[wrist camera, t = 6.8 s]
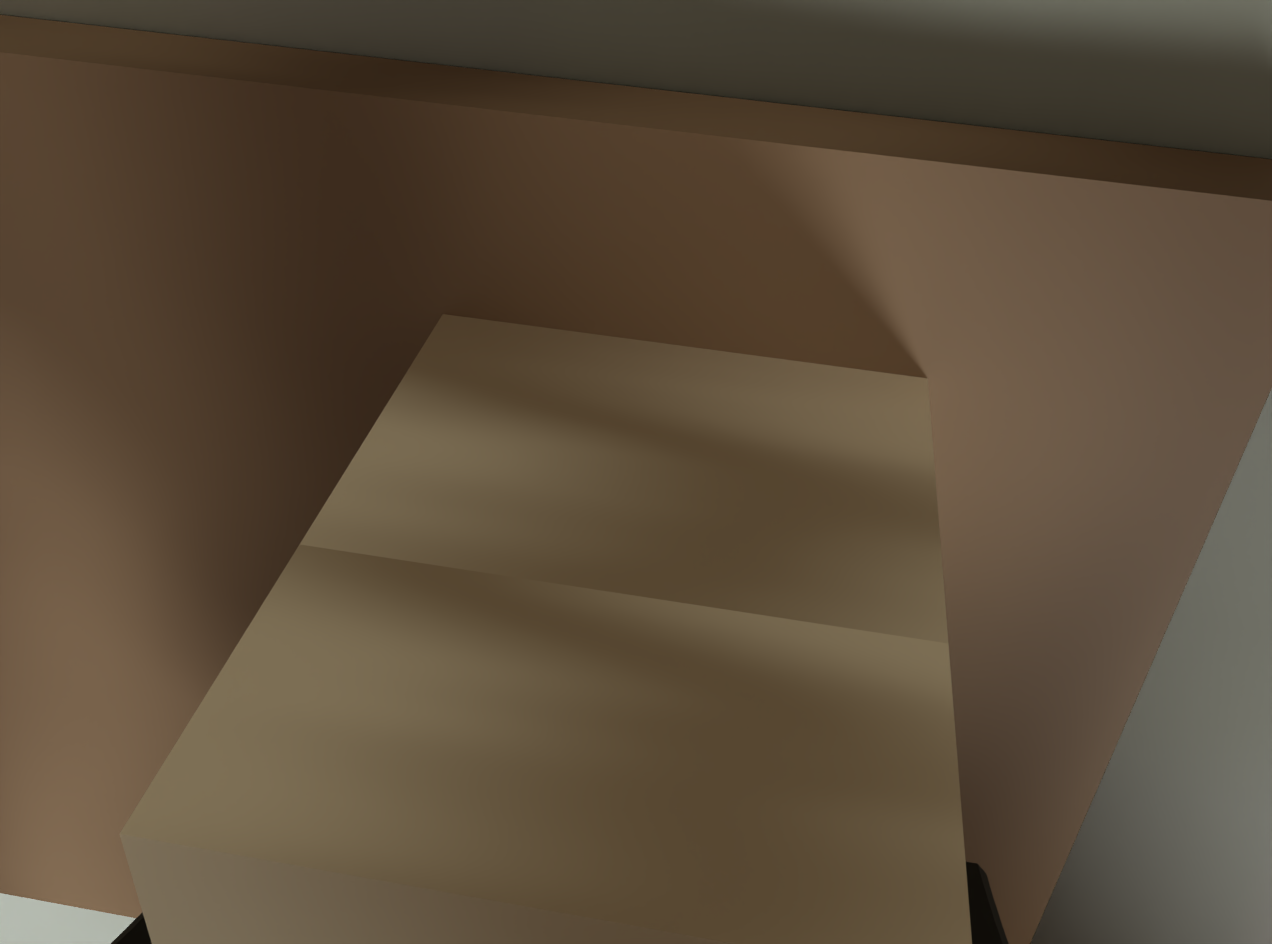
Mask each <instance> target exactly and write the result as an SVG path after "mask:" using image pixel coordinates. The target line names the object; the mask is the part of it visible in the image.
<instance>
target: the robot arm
mask: <svg viewBox="0 0 1272 944" xmlns="http://www.w3.org/2000/svg"><path fill="white" fill-rule="evenodd" d="M966 873H967V886H968V898H969V911H970V924H971V937H972V944H1009V943H1008V940H1007V938H1006V935H1005V932H1004V929H1003V926H1002V923H1001V920H1000V917H999V913H998V910H997V907H996V904H995V901H994V898H993V895H992V891H991V888H990V884H989V881H988V877H987V874H986V873H985V872H984V870H983V869H982V868H981V867H980V866H979V865H978V864H977V863H971V862H966ZM111 944H152V942H151V939H150V936H149V932H148V929H147V925H146V922H145V919H144V915H143V912H142V913H141V914H140V915H139V916H138V917H137V918H136V919H135V920H134V921H133V922H132V923H131V924H130V925H129V926H128V927H127V928H126V929H125V930H124V931H123V932H122V933H121V934H120V935H119V936H118V937H117V938H116V939H115V940H114V941H113V942H112V943H111Z"/></svg>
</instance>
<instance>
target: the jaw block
mask: <svg viewBox="0 0 1272 944" xmlns="http://www.w3.org/2000/svg"><path fill="white" fill-rule="evenodd" d="M120 838H121V841H122V844H123V848H124V851H125V855H126V858H127V861H128V865H129V868H130V871H131V875H132V878H133V882H134V885H135V888H136V892H137V895H138V898H139V902H140V905H141V909H142V912H143V915H144V919H145V922H146V925H147V929H148V932H149V936H150V939H151V942H152V944H972V937H971V924H970V911H969V898H968V886H967V873H966V860H965V848H964V835H963V822H962V809H961V797H960V784H959V771H958V759H957V746H956V733H955V720H954V708H953V695H952V682H951V670H950V657H949V644H948V632H947V619H946V606H945V593H944V581H943V568H942V555H941V543H940V530H939V517H938V504H937V492H936V479H935V466H934V454H933V441H932V428H931V415H930V403H929V390H928V378H921V377H913V376H906V375H898V374H890V373H883V372H875V371H868V370H860V369H853V368H845V367H838V366H830V365H823V364H815V363H808V362H800V361H793V360H785V359H777V358H770V357H762V356H755V355H747V354H740V353H732V352H725V351H717V350H710V349H702V348H695V347H687V346H680V345H672V344H665V343H657V342H649V341H642V340H634V339H627V338H619V337H612V336H604V335H597V334H589V333H582V332H574V331H567V330H559V329H552V328H544V327H537V326H529V325H521V324H514V323H506V322H499V321H491V320H484V319H476V318H469V317H461V316H454V315H446V314H443V315H442V316H441V318H440V320H439V321H438V323H437V324H436V326H435V328H434V329H433V331H432V332H431V334H430V336H429V337H428V339H427V340H426V342H425V344H424V345H423V347H422V348H421V350H420V352H419V353H418V355H417V357H416V358H415V360H414V361H413V363H412V365H411V366H410V368H409V369H408V371H407V373H406V374H405V376H404V377H403V379H402V381H401V382H400V384H399V385H398V387H397V389H396V390H395V392H394V393H393V395H392V397H391V398H390V400H389V402H388V403H387V405H386V406H385V408H384V410H383V411H382V413H381V414H380V416H379V418H378V419H377V421H376V422H375V424H374V426H373V427H372V429H371V430H370V432H369V434H368V435H367V437H366V438H365V440H364V442H363V443H362V445H361V447H360V448H359V450H358V451H357V453H356V455H355V456H354V458H353V459H352V461H351V463H350V464H349V466H348V467H347V469H346V471H345V472H344V474H343V475H342V477H341V479H340V480H339V482H338V483H337V485H336V487H335V488H334V490H333V492H332V493H331V495H330V496H329V498H328V500H327V501H326V503H325V504H324V506H323V508H322V509H321V511H320V512H319V514H318V516H317V517H316V519H315V520H314V522H313V524H312V525H311V527H310V528H309V530H308V532H307V533H306V535H305V537H304V538H303V540H302V541H301V543H300V545H299V546H298V548H297V549H296V551H295V553H294V554H293V556H292V557H291V559H290V561H289V562H288V564H287V565H286V567H285V569H284V570H283V572H282V573H281V575H280V577H279V578H278V580H277V582H276V583H275V585H274V586H273V588H272V590H271V591H270V593H269V594H268V596H267V598H266V599H265V601H264V602H263V604H262V606H261V607H260V609H259V610H258V612H257V614H256V615H255V617H254V618H253V620H252V622H251V623H250V625H249V627H248V628H247V630H246V631H245V633H244V635H243V636H242V638H241V639H240V641H239V643H238V644H237V646H236V647H235V649H234V651H233V652H232V654H231V655H230V657H229V659H228V660H227V662H226V663H225V665H224V667H223V668H222V670H221V671H220V673H219V675H218V676H217V678H216V680H215V681H214V683H213V684H212V686H211V688H210V689H209V691H208V692H207V694H206V696H205V697H204V699H203V700H202V702H201V704H200V705H199V707H198V708H197V710H196V712H195V713H194V715H193V716H192V718H191V720H190V721H189V723H188V725H187V726H186V728H185V729H184V731H183V733H182V734H181V736H180V737H179V739H178V741H177V742H176V744H175V745H174V747H173V749H172V750H171V752H170V753H169V755H168V757H167V758H166V760H165V761H164V763H163V765H162V766H161V768H160V770H159V771H158V773H157V774H156V776H155V778H154V779H153V781H152V782H151V784H150V786H149V787H148V789H147V790H146V792H145V794H144V795H143V797H142V798H141V800H140V802H139V803H138V805H137V806H136V808H135V810H134V811H133V813H132V815H131V816H130V818H129V819H128V821H127V823H126V824H125V826H124V827H123V829H122V831H121V832H120Z"/></svg>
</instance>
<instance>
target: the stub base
mask: <svg viewBox="0 0 1272 944" xmlns="http://www.w3.org/2000/svg"><path fill="white" fill-rule="evenodd" d="M443 314H446V315H454V316H461V317H469V318H476V319H484V320H491V321H499V322H506V323H514V324H521V325H529V326H537V327H544V328H552V329H559V330H567V331H574V332H582V333H589V334H597V335H604V336H612V337H619V338H627V339H634V340H642V341H649V342H657V343H665V344H672V345H680V346H687V347H695V348H702V349H710V350H717V351H725V352H732V353H740V354H747V355H755V356H762V357H770V358H777V359H785V360H793V361H800V362H808V363H815V364H823V365H830V366H838V367H845V368H853V369H860V370H868V371H875V372H883V373H890V374H898V375H906V376H913V377H921V378H928V390H929V403H930V415H931V428H932V441H933V454H934V466H935V479H936V492H937V504H938V517H939V530H940V543H941V555H942V568H943V581H944V593H945V606H946V619H947V632H948V644H949V657H950V670H951V682H952V695H953V708H954V720H955V733H956V746H957V759H958V771H959V784H960V797H961V809H962V822H963V835H964V848H965V860H966V862H971V863H977V864H978V865H979V866H980V867H981V868H982V869H983V870H984V872H985V873H986V874H987V877H988V881H989V884H990V888H991V891H992V895H993V898H994V901H995V904H996V907H997V910H998V913H999V917H1000V920H1001V923H1002V926H1003V929H1004V932H1005V935H1006V938H1007V940H1008V943H1009V944H1030V943H1031V941H1032V938H1033V936H1034V934H1035V931H1036V929H1037V927H1038V924H1039V922H1040V920H1041V918H1042V915H1043V913H1044V911H1045V908H1046V906H1047V904H1048V901H1049V899H1050V897H1051V895H1052V892H1053V890H1054V888H1055V885H1056V883H1057V881H1058V878H1059V876H1060V874H1061V872H1062V869H1063V867H1064V865H1065V862H1066V860H1067V858H1068V855H1069V853H1070V851H1071V849H1072V846H1073V844H1074V842H1075V839H1076V837H1077V835H1078V832H1079V830H1080V828H1081V825H1082V823H1083V821H1084V819H1085V816H1086V814H1087V812H1088V809H1089V807H1090V805H1091V802H1092V800H1093V798H1094V796H1095V793H1096V791H1097V789H1098V786H1099V784H1100V782H1101V779H1102V777H1103V775H1104V773H1105V770H1106V768H1107V766H1108V763H1109V761H1110V759H1111V756H1112V754H1113V752H1114V750H1115V747H1116V745H1117V743H1118V740H1119V738H1120V736H1121V733H1122V731H1123V729H1124V727H1125V724H1126V722H1127V720H1128V717H1129V715H1130V713H1131V710H1132V708H1133V706H1134V704H1135V701H1136V699H1137V697H1138V694H1139V692H1140V690H1141V687H1142V685H1143V683H1144V681H1145V678H1146V676H1147V674H1148V671H1149V669H1150V667H1151V664H1152V662H1153V660H1154V657H1155V655H1156V653H1157V651H1158V648H1159V646H1160V644H1161V641H1162V639H1163V637H1164V634H1165V632H1166V630H1167V628H1168V625H1169V623H1170V621H1171V618H1172V616H1173V614H1174V611H1175V609H1176V607H1177V605H1178V602H1179V600H1180V598H1181V595H1182V593H1183V591H1184V588H1185V586H1186V584H1187V582H1188V579H1189V577H1190V575H1191V572H1192V570H1193V568H1194V565H1195V563H1196V561H1197V559H1198V556H1199V554H1200V552H1201V549H1202V547H1203V545H1204V542H1205V540H1206V538H1207V536H1208V533H1209V531H1210V529H1211V526H1212V524H1213V522H1214V519H1215V517H1216V515H1217V513H1218V510H1219V508H1220V506H1221V503H1222V501H1223V499H1224V496H1225V494H1226V492H1227V489H1228V487H1229V485H1230V483H1231V480H1232V478H1233V476H1234V473H1235V471H1236V469H1237V466H1238V464H1239V462H1240V460H1241V457H1242V455H1243V453H1244V450H1245V448H1246V446H1247V443H1248V441H1249V439H1250V437H1251V434H1252V432H1253V430H1254V427H1255V425H1256V423H1257V420H1258V418H1259V416H1260V414H1261V411H1262V409H1263V407H1264V404H1265V402H1266V400H1267V397H1268V395H1269V393H1270V391H1271V388H1272V159H1263V158H1255V157H1246V156H1237V155H1228V154H1220V153H1211V152H1202V151H1193V150H1184V149H1176V148H1167V147H1158V146H1149V145H1140V144H1132V143H1123V142H1114V141H1105V140H1096V139H1088V138H1079V137H1070V136H1061V135H1053V134H1044V133H1035V132H1026V131H1017V130H1009V129H1000V128H991V127H982V126H973V125H965V124H956V123H947V122H938V121H930V120H921V119H912V118H903V117H894V116H886V115H877V114H868V113H859V112H850V111H842V110H833V109H824V108H815V107H806V106H798V105H789V104H780V103H771V102H763V101H754V100H745V99H736V98H727V97H719V96H710V95H701V94H692V93H683V92H675V91H666V90H657V89H648V88H639V87H631V86H622V85H613V84H604V83H596V82H587V81H578V80H569V79H560V78H552V77H543V76H534V75H525V74H516V73H508V72H499V71H490V70H481V69H473V68H464V67H455V66H446V65H437V64H429V63H420V62H411V61H402V60H393V59H385V58H376V57H367V56H358V55H349V54H341V53H332V52H323V51H314V50H306V49H297V48H288V47H279V46H270V45H262V44H253V43H244V42H235V41H226V40H218V39H209V38H200V37H191V36H183V35H174V34H165V33H156V32H147V31H139V30H130V29H121V28H112V27H103V26H95V25H86V24H77V23H68V22H59V21H51V20H42V19H33V18H24V17H16V16H7V15H0V893H4V894H9V895H15V896H20V897H25V898H31V899H36V900H41V901H47V902H52V903H58V904H63V905H68V906H74V907H79V908H85V909H90V910H95V911H101V912H106V913H112V914H117V915H122V916H128V917H133V918H137V917H138V916H139V915H140V914H141V913H142V909H141V905H140V902H139V898H138V895H137V892H136V888H135V885H134V882H133V878H132V875H131V871H130V868H129V865H128V861H127V858H126V855H125V851H124V848H123V844H122V841H121V838H120V832H121V831H122V829H123V827H124V826H125V824H126V823H127V821H128V819H129V818H130V816H131V815H132V813H133V811H134V810H135V808H136V806H137V805H138V803H139V802H140V800H141V798H142V797H143V795H144V794H145V792H146V790H147V789H148V787H149V786H150V784H151V782H152V781H153V779H154V778H155V776H156V774H157V773H158V771H159V770H160V768H161V766H162V765H163V763H164V761H165V760H166V758H167V757H168V755H169V753H170V752H171V750H172V749H173V747H174V745H175V744H176V742H177V741H178V739H179V737H180V736H181V734H182V733H183V731H184V729H185V728H186V726H187V725H188V723H189V721H190V720H191V718H192V716H193V715H194V713H195V712H196V710H197V708H198V707H199V705H200V704H201V702H202V700H203V699H204V697H205V696H206V694H207V692H208V691H209V689H210V688H211V686H212V684H213V683H214V681H215V680H216V678H217V676H218V675H219V673H220V671H221V670H222V668H223V667H224V665H225V663H226V662H227V660H228V659H229V657H230V655H231V654H232V652H233V651H234V649H235V647H236V646H237V644H238V643H239V641H240V639H241V638H242V636H243V635H244V633H245V631H246V630H247V628H248V627H249V625H250V623H251V622H252V620H253V618H254V617H255V615H256V614H257V612H258V610H259V609H260V607H261V606H262V604H263V602H264V601H265V599H266V598H267V596H268V594H269V593H270V591H271V590H272V588H273V586H274V585H275V583H276V582H277V580H278V578H279V577H280V575H281V573H282V572H283V570H284V569H285V567H286V565H287V564H288V562H289V561H290V559H291V557H292V556H293V554H294V553H295V551H296V549H297V548H298V546H299V545H300V543H301V541H302V540H303V538H304V537H305V535H306V533H307V532H308V530H309V528H310V527H311V525H312V524H313V522H314V520H315V519H316V517H317V516H318V514H319V512H320V511H321V509H322V508H323V506H324V504H325V503H326V501H327V500H328V498H329V496H330V495H331V493H332V492H333V490H334V488H335V487H336V485H337V483H338V482H339V480H340V479H341V477H342V475H343V474H344V472H345V471H346V469H347V467H348V466H349V464H350V463H351V461H352V459H353V458H354V456H355V455H356V453H357V451H358V450H359V448H360V447H361V445H362V443H363V442H364V440H365V438H366V437H367V435H368V434H369V432H370V430H371V429H372V427H373V426H374V424H375V422H376V421H377V419H378V418H379V416H380V414H381V413H382V411H383V410H384V408H385V406H386V405H387V403H388V402H389V400H390V398H391V397H392V395H393V393H394V392H395V390H396V389H397V387H398V385H399V384H400V382H401V381H402V379H403V377H404V376H405V374H406V373H407V371H408V369H409V368H410V366H411V365H412V363H413V361H414V360H415V358H416V357H417V355H418V353H419V352H420V350H421V348H422V347H423V345H424V344H425V342H426V340H427V339H428V337H429V336H430V334H431V332H432V331H433V329H434V328H435V326H436V324H437V323H438V321H439V320H440V318H441V316H442V315H443Z"/></svg>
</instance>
